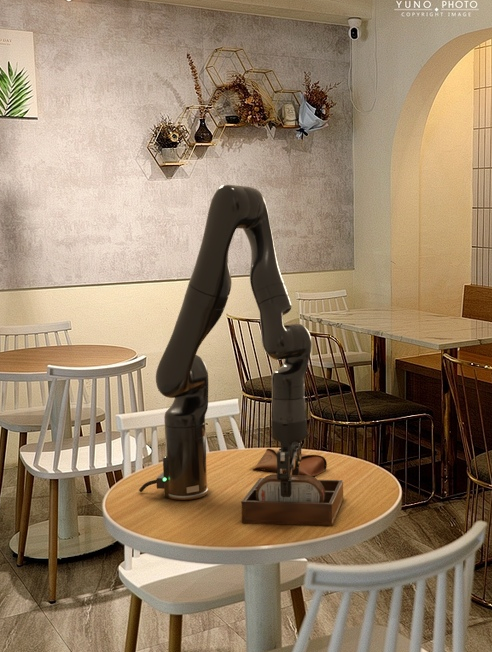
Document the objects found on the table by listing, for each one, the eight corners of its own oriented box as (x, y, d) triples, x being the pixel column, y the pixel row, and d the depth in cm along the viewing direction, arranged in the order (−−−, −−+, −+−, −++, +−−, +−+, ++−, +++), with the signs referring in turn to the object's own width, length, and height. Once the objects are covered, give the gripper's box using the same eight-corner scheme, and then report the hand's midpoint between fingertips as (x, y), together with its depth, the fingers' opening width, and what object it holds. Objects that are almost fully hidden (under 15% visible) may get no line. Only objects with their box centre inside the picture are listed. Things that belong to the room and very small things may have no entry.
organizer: (241, 523, 188) (241, 501, 187) (260, 497, 204) (259, 477, 203) (332, 525, 186) (331, 504, 185) (343, 500, 202) (343, 480, 201)
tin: (325, 511, 191) (325, 474, 190) (323, 516, 188) (322, 479, 187) (258, 509, 193) (257, 472, 192) (254, 514, 190) (253, 477, 188)
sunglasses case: (250, 468, 224) (256, 443, 227) (262, 475, 230) (268, 451, 233) (312, 476, 217) (318, 450, 220) (323, 483, 224) (329, 458, 226)
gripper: (278, 409, 195) (280, 479, 197) (263, 425, 181) (265, 500, 183) (312, 409, 194) (313, 480, 197) (299, 425, 180) (300, 501, 183)
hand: (290, 490), depth 190 cm, fingers open, 8 cm apart
